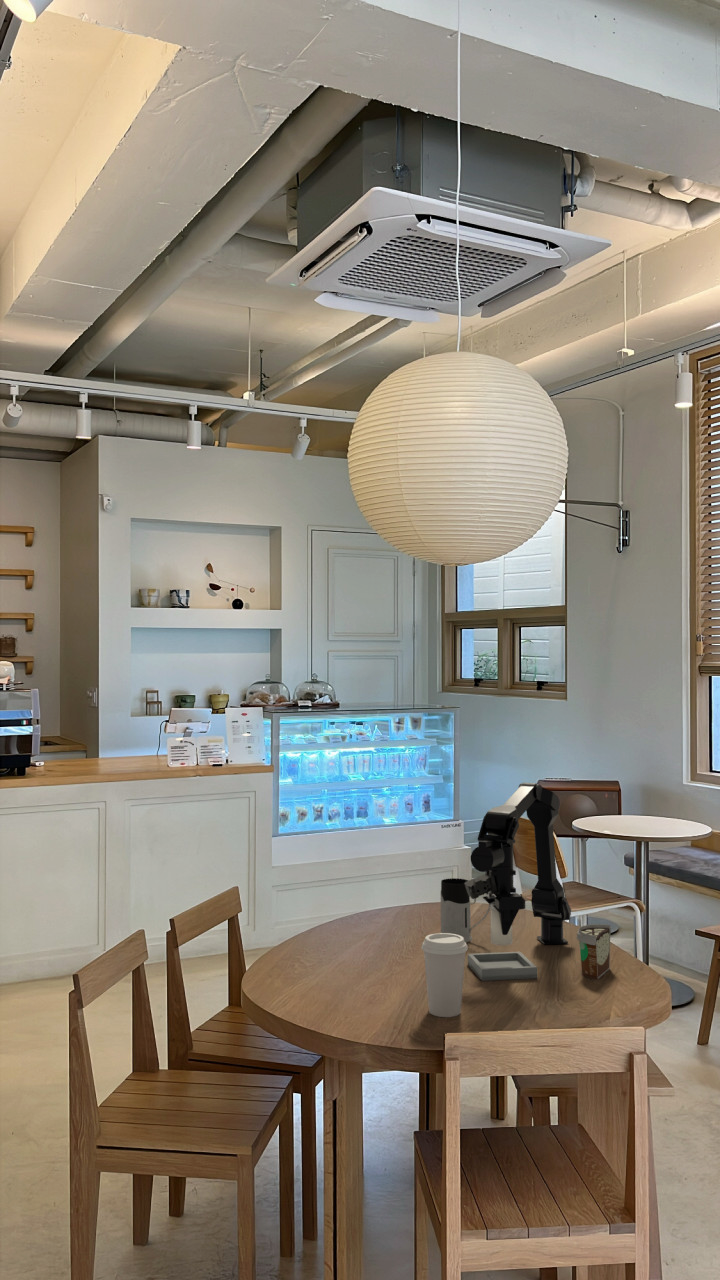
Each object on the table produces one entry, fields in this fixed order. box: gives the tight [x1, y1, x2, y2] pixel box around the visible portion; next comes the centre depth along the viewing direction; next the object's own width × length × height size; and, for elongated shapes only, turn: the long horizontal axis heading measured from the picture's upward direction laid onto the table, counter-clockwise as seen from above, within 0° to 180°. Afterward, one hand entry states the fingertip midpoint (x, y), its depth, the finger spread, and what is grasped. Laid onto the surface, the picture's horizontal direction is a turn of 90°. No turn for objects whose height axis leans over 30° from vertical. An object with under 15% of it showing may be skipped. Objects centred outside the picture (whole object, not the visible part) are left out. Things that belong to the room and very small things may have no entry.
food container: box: [576, 923, 612, 980], centre depth 227 cm, size 12×6×10 cm, turn 149°
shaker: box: [490, 902, 513, 946], centre depth 228 cm, size 5×5×9 cm
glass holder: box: [440, 878, 491, 943], centre depth 255 cm, size 9×14×15 cm, turn 64°
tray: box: [467, 951, 538, 982], centre depth 227 cm, size 13×13×2 cm
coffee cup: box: [421, 932, 469, 1018], centre depth 200 cm, size 10×10×15 cm
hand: (501, 931), depth 228 cm, fingers closed on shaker, 5 cm apart
